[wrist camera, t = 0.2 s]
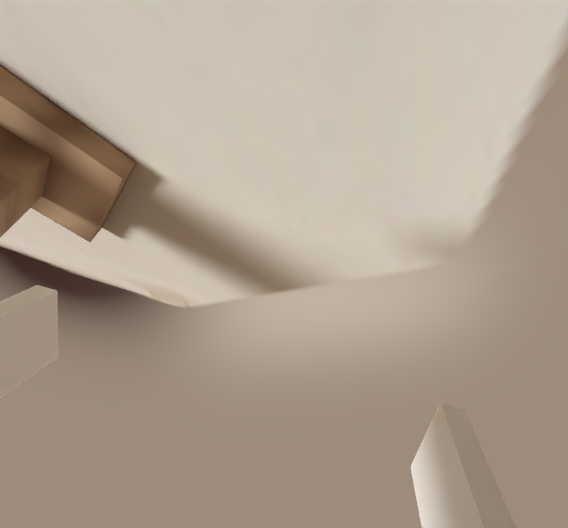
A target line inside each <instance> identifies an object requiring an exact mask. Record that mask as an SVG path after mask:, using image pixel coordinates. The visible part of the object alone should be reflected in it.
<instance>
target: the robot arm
mask: <svg viewBox="0 0 568 528" xmlns="http://www.w3.org/2000/svg"><path fill="white" fill-rule="evenodd" d="M57 311H58V310H57V291H56V290H53V289H49V288H46V287H42V286H39V285H37V286H34V287H32V288H30V289H28V290H25V291H23V292H21V293H18V294H16V295H14V296H12V297H9V298H7V299H5V300H2V301H0V398H1V397H3V396H4V395H6V394H7V393H8V392H10V391H11V390H12V389H14V388H15V387H17V386H18V385H20V384H21V383H22V382H24V381H25V380H27V379H28V378H29V377H31V376H32V375H34V374H35V373H36V372H38V371H39V370H41V369H42V368H43V367H45V366H46V365H48V364H49V363H50V362H52V361H53V360H55V359H56V358H57V357H58V312H57ZM411 472H412V477H413V482H414V487H415V493H416V498H417V504H418V509H419V514H420V520H421V525H422V528H517V527H516V525H515V523H514V520H513V518H512V516H511V513H510V511H509V509H508V506H507V504H506V502H505V500H504V497H503V495H502V493H501V490H500V488H499V486H498V484H497V481H496V479H495V477H494V474H493V472H492V470H491V467H490V465H489V463H488V461H487V458H486V456H485V454H484V451H483V449H482V447H481V445H480V443H479V440H478V438H477V435H476V433H475V431H474V429H473V426H472V424H471V422H470V419H469V417H468V415H467V413H466V411H465V410H464V409H460V408H456V407H454V406H450V405H447V404H443V403H440V404H439V406H438V409H437V411H436V413H435V415H434V417H433V420H432V422H431V424H430V426H429V428H428V430H427V432H426V435H425V437H424V439H423V441H422V443H421V445H420V448H419V450H418V452H417V454H416V456H415V459H414V461H413V463H412V465H411Z"/></svg>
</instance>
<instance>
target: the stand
mask: <svg viewBox="0 0 568 528" xmlns="http://www.w3.org/2000/svg"><path fill="white" fill-rule="evenodd" d="M136 163H137V162H135V161H134V160H133V159H131V158H130V157H128V156H127V155H126V154H124V153H123V152H121V151H120V150H118V149H117V148H116V147H114V146H113V145H111V144H110V143H109V142H107V141H106V140H104V139H103V138H102V137H100V136H99V135H97V134H96V133H94V132H93V131H92V130H90V129H89V128H87V127H86V126H85V125H83V124H82V123H80V122H79V121H78V120H76V119H75V118H73V117H72V116H70V115H69V114H68V113H66V112H65V111H63V110H62V109H61V108H59V107H58V106H56V105H55V104H54V103H52V102H51V101H49V100H48V99H46V98H45V97H44V96H42V95H41V94H39V93H38V92H37V91H35V90H34V89H32V88H31V87H30V86H28V85H27V84H25V83H24V82H22V81H21V80H20V79H18V78H17V77H15V76H14V75H13V74H11V73H10V72H8V71H7V70H5V69H4V68H3V67H1V66H0V237H1V236H2V235H3V234H4V233H5V232H6V231H7V230H8V229H9V228H10V227H11V226H12V225H13V224H14V223H15V222H17V221H18V220H19V219H20V218H21V217H22V216H23V215H24V214H25V213H26V212H27V211H28V210H29V209H30V208H33V209H34V210H36V211H38V212H39V213H41V214H43V215H44V216H46V217H48V218H50V219H51V220H53V221H55V222H56V223H58V224H60V225H62V226H63V227H65V228H67V229H68V230H70V231H72V232H74V233H75V234H77V235H79V236H80V237H82V238H84V239H85V240H87V241H89V242H91V241H92V239H93V238H94V237H95V236H96V234H97V233H98V232H99V231H100V229H101V228H102V226H103V224H104V223H105V221H106V219H107V217H108V215H109V213H110V211H111V209H112V208H113V206H114V204H115V202H116V200H117V198H118V196H119V194H120V193H121V191H122V189H123V187H124V185H125V183H126V181H127V179H128V178H129V176H130V174H131V172H132V170H133V168H134V166H135V165H136Z"/></svg>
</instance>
